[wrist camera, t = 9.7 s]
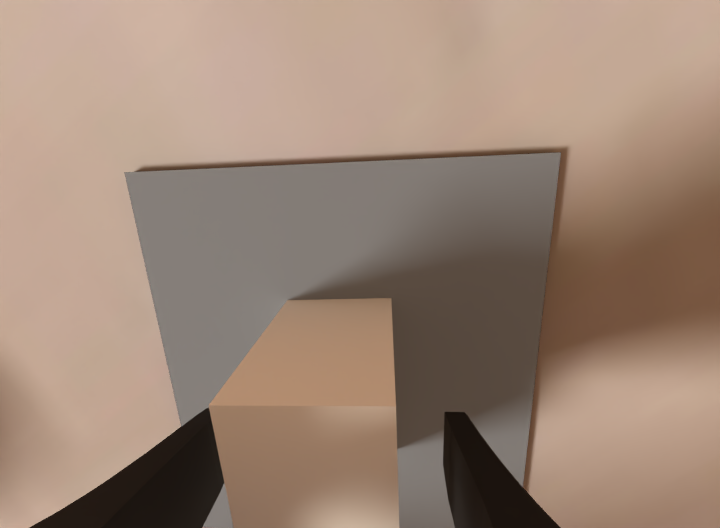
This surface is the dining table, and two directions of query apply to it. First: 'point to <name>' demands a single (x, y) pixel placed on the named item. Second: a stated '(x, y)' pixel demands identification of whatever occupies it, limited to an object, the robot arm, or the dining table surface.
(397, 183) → the slate mat
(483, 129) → the dining table surface
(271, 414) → the cream block
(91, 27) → the dining table surface
